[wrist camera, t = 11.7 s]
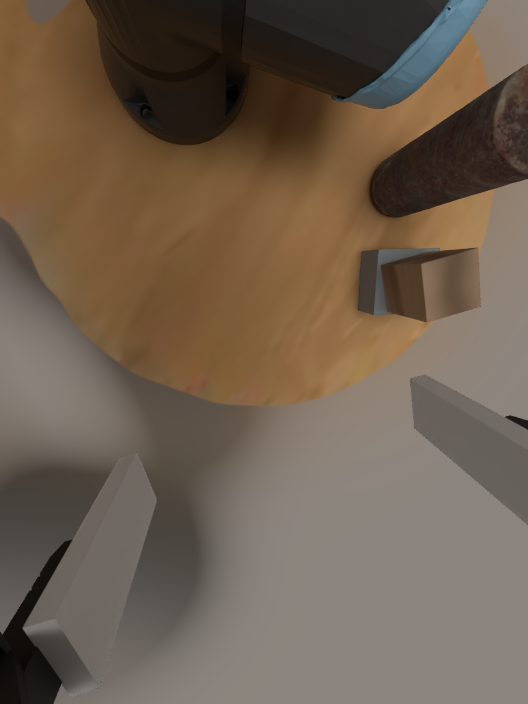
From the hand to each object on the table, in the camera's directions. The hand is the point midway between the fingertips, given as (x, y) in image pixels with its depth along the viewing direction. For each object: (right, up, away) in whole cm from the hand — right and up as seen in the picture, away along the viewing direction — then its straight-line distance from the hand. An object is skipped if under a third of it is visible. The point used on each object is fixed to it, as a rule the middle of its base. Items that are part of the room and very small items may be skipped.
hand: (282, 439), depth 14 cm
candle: (+16, +26, +25) cm, 39 cm away
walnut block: (+17, +13, +24) cm, 32 cm away
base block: (+17, +14, +28) cm, 36 cm away
